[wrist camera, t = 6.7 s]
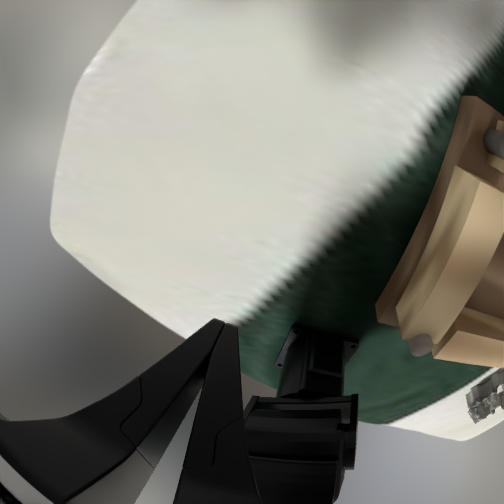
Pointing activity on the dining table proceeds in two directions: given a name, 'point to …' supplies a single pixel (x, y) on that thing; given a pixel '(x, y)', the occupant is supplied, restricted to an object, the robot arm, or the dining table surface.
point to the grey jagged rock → (485, 398)
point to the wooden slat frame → (499, 268)
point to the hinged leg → (451, 260)
